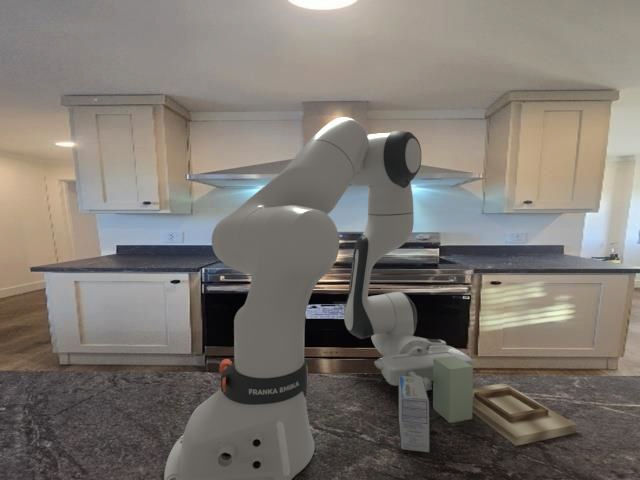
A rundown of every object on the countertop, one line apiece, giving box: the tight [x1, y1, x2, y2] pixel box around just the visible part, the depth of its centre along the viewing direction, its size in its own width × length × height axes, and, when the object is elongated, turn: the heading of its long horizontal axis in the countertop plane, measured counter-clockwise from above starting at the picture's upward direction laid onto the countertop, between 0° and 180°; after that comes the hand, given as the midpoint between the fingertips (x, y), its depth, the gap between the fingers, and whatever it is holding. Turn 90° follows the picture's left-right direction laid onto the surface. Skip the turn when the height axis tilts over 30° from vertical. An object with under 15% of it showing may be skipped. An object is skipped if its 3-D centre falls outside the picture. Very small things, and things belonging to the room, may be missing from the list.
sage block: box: [432, 356, 474, 424], centre depth 59 cm, size 5×5×10 cm
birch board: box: [472, 383, 577, 447], centre depth 59 cm, size 13×15×2 cm
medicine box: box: [398, 376, 430, 453], centre depth 53 cm, size 8×4×9 cm, turn 168°
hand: (449, 383), depth 60 cm, fingers open, 8 cm apart
